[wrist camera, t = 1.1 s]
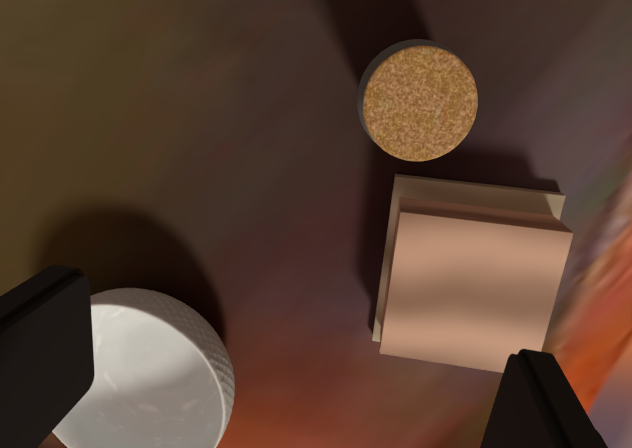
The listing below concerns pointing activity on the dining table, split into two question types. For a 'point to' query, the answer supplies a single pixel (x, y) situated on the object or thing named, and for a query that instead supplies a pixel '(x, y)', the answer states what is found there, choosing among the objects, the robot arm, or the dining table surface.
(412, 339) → the pedestal
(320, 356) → the dining table surface
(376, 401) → the dining table surface
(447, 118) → the bottle
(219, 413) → the cereal bowl
